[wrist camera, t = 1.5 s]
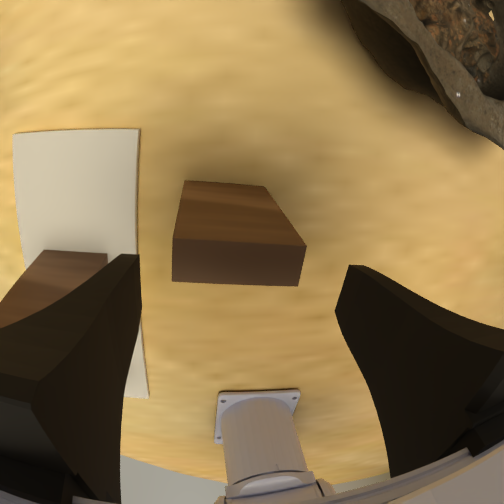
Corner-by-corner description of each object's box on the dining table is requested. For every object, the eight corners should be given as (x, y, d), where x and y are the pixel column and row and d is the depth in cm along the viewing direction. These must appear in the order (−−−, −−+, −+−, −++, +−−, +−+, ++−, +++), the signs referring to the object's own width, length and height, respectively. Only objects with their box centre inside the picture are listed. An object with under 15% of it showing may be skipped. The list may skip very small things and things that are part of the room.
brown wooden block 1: (109, 276, 21) (71, 371, 13) (47, 271, 20) (-8, 355, 12) (107, 253, 20) (62, 343, 12) (43, 249, 19) (-19, 328, 11)
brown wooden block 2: (260, 213, 21) (297, 286, 13) (183, 207, 20) (171, 281, 12) (264, 186, 20) (306, 246, 12) (184, 180, 19) (172, 238, 11)
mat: (149, 394, 27) (148, 398, 26) (62, 383, 25) (61, 388, 25) (140, 128, 17) (138, 129, 17) (17, 133, 16) (12, 134, 15)
